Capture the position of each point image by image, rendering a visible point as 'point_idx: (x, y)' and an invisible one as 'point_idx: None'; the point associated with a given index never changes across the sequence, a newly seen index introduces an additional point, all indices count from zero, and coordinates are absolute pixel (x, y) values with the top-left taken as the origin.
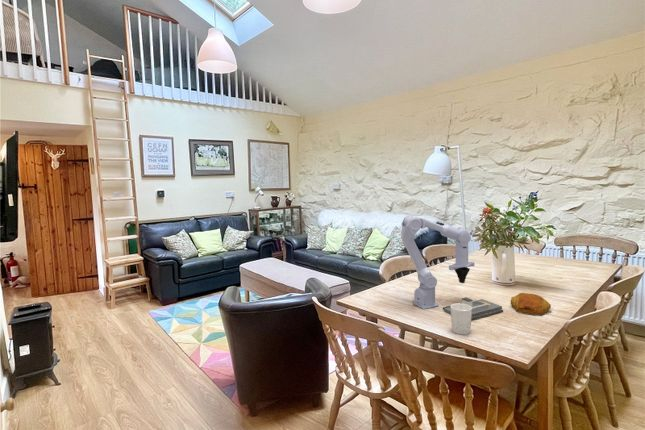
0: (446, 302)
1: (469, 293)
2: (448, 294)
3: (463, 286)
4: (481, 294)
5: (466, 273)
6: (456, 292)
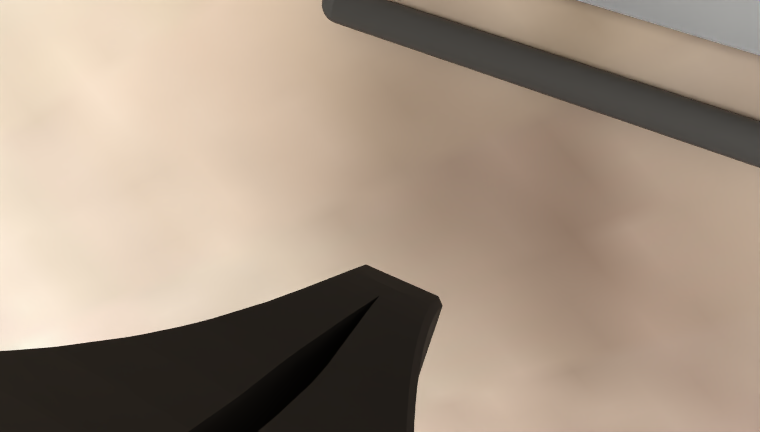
0: (685, 353)
1: (127, 216)
2: None
3: None
4: (48, 77)
5: (128, 389)
6: None
